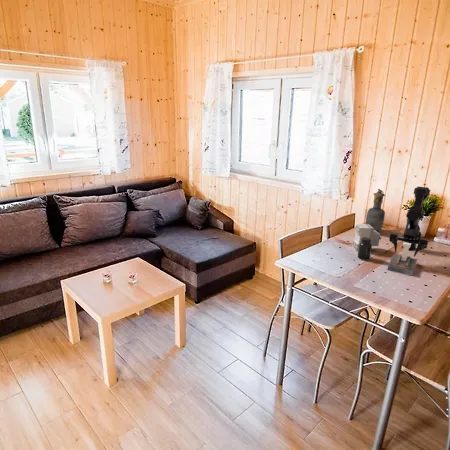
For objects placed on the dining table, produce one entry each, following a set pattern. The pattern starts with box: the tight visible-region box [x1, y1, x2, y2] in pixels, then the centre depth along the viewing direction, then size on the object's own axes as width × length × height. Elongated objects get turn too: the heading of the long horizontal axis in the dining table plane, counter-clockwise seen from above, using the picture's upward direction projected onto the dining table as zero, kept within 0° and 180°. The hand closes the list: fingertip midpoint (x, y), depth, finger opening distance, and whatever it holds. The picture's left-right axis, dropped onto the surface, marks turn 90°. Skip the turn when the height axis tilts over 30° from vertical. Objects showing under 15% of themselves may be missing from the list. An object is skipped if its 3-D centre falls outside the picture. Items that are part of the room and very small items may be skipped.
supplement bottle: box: [357, 237, 373, 261], centre depth 197 cm, size 7×7×12 cm
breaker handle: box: [401, 241, 411, 261], centre depth 188 cm, size 3×4×10 cm
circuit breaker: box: [351, 223, 382, 252], centre depth 209 cm, size 8×14×15 cm, turn 89°
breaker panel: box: [387, 253, 418, 277], centre depth 188 cm, size 17×12×5 cm
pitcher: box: [364, 188, 386, 233], centre depth 239 cm, size 11×19×30 cm, turn 150°
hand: (404, 254), depth 187 cm, fingers open, 9 cm apart
